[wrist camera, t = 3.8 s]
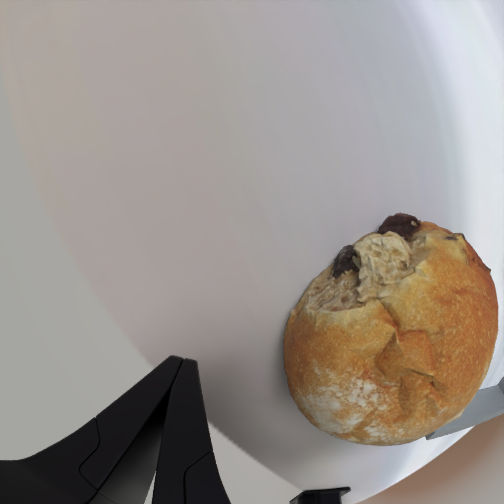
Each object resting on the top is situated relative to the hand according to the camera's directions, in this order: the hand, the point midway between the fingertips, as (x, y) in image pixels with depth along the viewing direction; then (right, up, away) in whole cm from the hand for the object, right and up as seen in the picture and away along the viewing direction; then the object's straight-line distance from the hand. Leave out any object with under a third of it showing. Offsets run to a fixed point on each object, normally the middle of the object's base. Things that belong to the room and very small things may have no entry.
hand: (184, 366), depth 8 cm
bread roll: (+8, +1, +4) cm, 9 cm away
